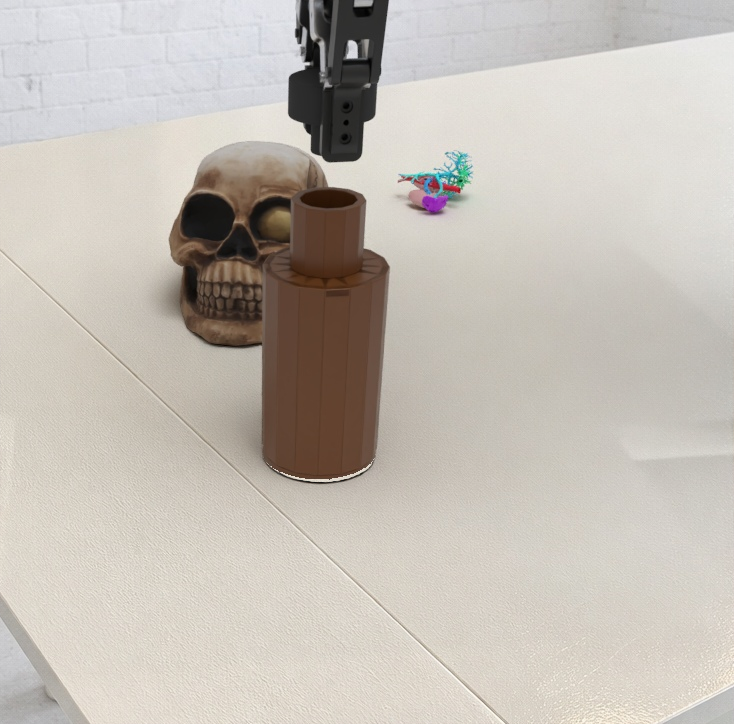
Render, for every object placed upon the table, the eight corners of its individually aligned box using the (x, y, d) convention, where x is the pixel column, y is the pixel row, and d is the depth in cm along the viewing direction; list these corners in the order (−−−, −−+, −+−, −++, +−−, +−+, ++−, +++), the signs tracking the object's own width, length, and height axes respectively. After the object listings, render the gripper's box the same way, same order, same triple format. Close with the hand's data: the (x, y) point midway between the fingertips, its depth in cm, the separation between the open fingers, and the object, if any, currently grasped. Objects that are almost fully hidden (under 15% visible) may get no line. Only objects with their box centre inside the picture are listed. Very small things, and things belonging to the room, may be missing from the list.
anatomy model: (382, 161, 112) (446, 163, 108) (416, 143, 117) (478, 143, 114) (384, 213, 114) (447, 217, 111) (418, 192, 120) (479, 195, 116)
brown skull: (215, 352, 86) (209, 173, 80) (133, 296, 100) (123, 139, 94) (389, 321, 92) (396, 151, 86) (289, 272, 106) (289, 123, 100)
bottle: (362, 422, 77) (378, 175, 68) (386, 479, 71) (407, 217, 62) (255, 429, 77) (256, 181, 67) (270, 487, 71) (273, 223, 61)
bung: (363, 137, 65) (367, 65, 63) (381, 162, 61) (386, 85, 59) (281, 141, 65) (282, 68, 63) (294, 166, 61) (296, 89, 59)
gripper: (465, -216, 48) (429, 183, 57) (389, -221, 60) (370, 110, 69) (290, -213, 47) (283, 189, 57) (248, -219, 59) (248, 115, 69)
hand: (331, 144), depth 63 cm, fingers closed on bung, 4 cm apart
